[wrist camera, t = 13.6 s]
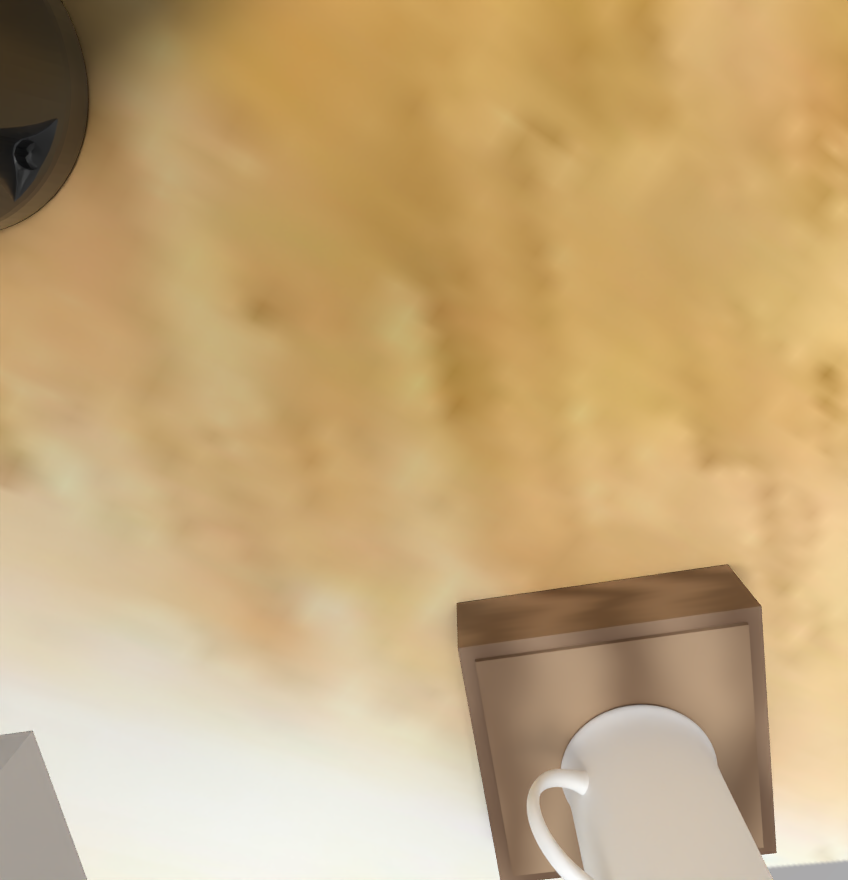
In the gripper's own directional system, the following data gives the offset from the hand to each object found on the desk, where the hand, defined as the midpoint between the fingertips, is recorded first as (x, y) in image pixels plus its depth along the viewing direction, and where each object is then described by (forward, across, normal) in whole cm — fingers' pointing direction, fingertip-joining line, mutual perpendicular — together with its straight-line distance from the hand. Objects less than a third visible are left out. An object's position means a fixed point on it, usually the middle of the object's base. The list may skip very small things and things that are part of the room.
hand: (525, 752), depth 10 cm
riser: (+33, +5, -23) cm, 40 cm away
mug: (+28, +4, -23) cm, 36 cm away
